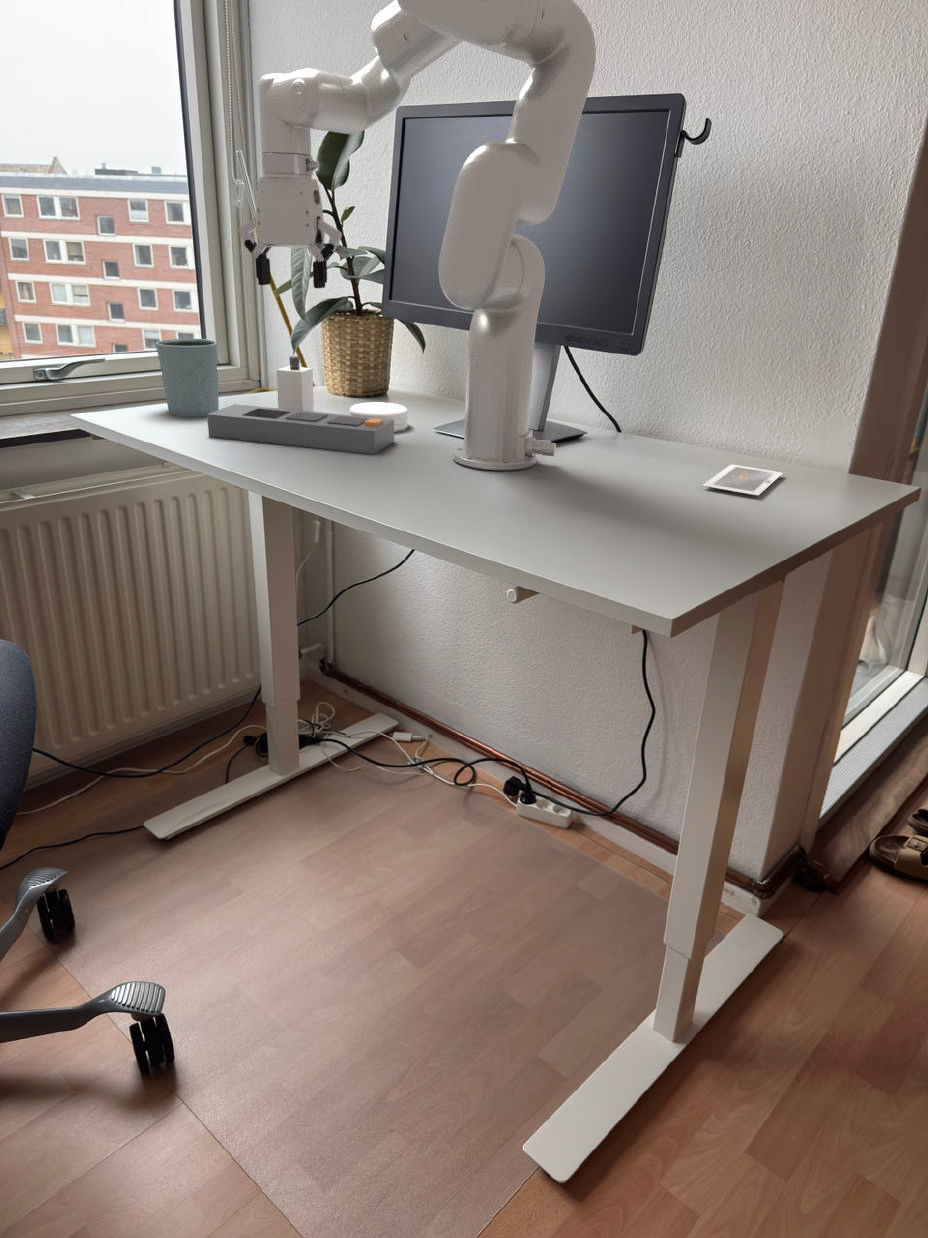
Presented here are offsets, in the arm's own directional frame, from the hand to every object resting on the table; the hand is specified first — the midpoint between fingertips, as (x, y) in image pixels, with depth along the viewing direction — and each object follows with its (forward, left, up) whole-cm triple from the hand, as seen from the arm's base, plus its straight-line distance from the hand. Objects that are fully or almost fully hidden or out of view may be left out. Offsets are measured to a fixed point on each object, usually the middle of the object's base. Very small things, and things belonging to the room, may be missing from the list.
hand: (291, 286), depth 144 cm
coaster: (-14, -3, -23) cm, 27 cm away
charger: (0, 0, -22) cm, 22 cm away
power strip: (-6, +11, -22) cm, 25 cm away
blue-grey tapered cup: (+20, 0, -22) cm, 30 cm away
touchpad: (-74, +10, -23) cm, 78 cm away
